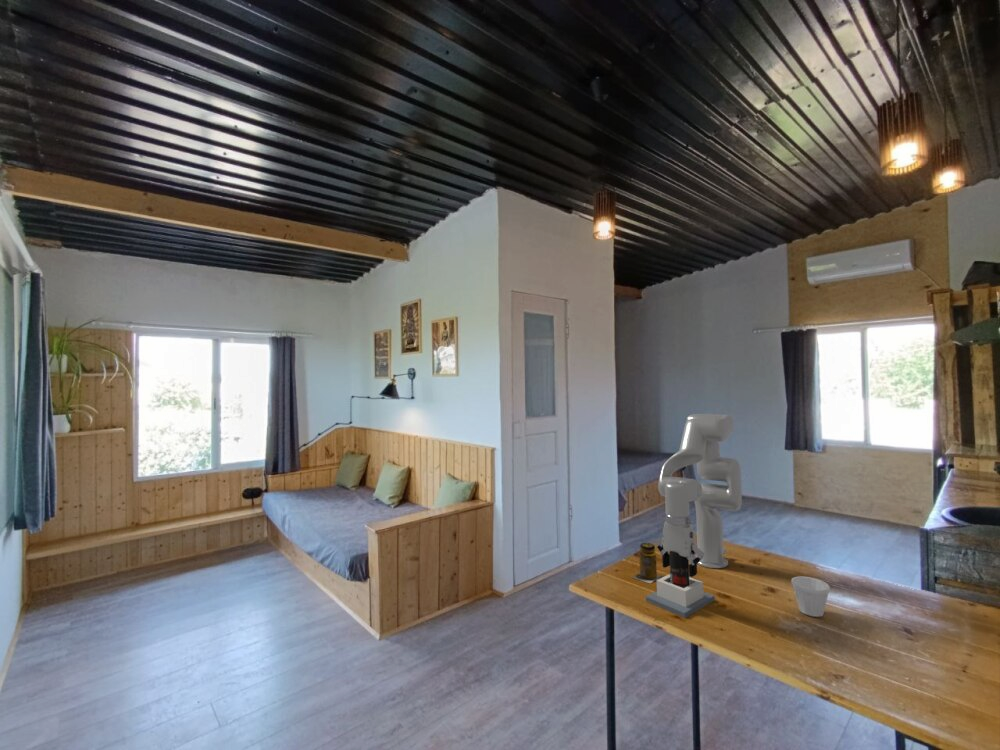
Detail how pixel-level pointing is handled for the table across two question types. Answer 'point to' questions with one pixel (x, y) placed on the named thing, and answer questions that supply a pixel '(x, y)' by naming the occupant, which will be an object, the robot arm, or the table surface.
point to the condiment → (647, 563)
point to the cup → (811, 595)
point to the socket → (680, 597)
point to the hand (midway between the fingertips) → (679, 571)
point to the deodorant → (679, 570)
